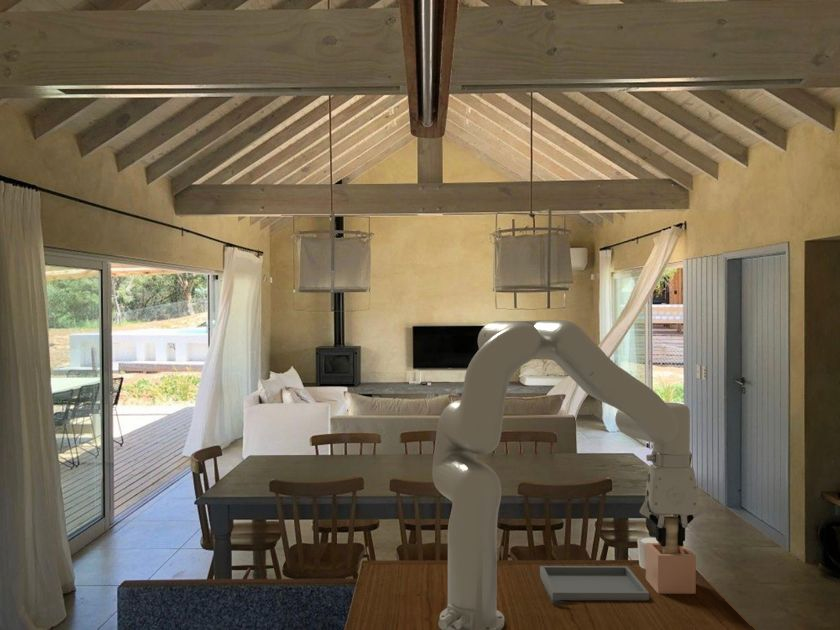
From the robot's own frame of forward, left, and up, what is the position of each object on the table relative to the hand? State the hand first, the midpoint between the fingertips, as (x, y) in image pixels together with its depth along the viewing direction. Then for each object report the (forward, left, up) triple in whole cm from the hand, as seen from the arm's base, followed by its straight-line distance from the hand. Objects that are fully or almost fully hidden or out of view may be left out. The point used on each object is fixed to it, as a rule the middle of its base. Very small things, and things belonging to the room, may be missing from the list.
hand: (670, 543), depth 153 cm
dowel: (0, 0, -9) cm, 9 cm away
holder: (0, 0, -10) cm, 10 cm away
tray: (-9, +14, -10) cm, 20 cm away
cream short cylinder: (+10, +6, -10) cm, 16 cm away
